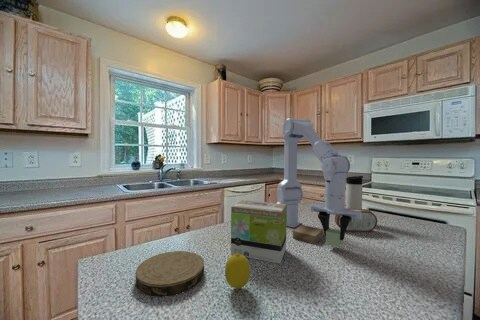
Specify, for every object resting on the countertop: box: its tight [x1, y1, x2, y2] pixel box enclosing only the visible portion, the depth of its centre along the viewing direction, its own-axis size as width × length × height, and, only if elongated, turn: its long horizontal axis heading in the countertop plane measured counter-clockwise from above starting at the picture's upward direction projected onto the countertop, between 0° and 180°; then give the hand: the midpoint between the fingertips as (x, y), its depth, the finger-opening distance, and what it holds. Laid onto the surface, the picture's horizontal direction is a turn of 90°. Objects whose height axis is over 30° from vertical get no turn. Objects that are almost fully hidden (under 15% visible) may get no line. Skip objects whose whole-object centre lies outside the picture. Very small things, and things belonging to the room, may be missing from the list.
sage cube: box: [325, 227, 344, 248], centre depth 70 cm, size 4×4×4 cm
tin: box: [334, 208, 378, 233], centre depth 86 cm, size 15×3×8 cm, turn 84°
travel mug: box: [345, 175, 364, 209], centre depth 97 cm, size 6×7×20 cm
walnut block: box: [292, 224, 324, 245], centre depth 80 cm, size 8×8×3 cm
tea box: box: [230, 199, 287, 265], centre depth 67 cm, size 15×10×15 cm
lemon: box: [224, 253, 251, 290], centre depth 49 cm, size 6×6×8 cm
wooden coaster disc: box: [135, 250, 205, 298], centre depth 55 cm, size 16×16×3 cm
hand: (334, 237), depth 70 cm, fingers closed on sage cube, 4 cm apart
